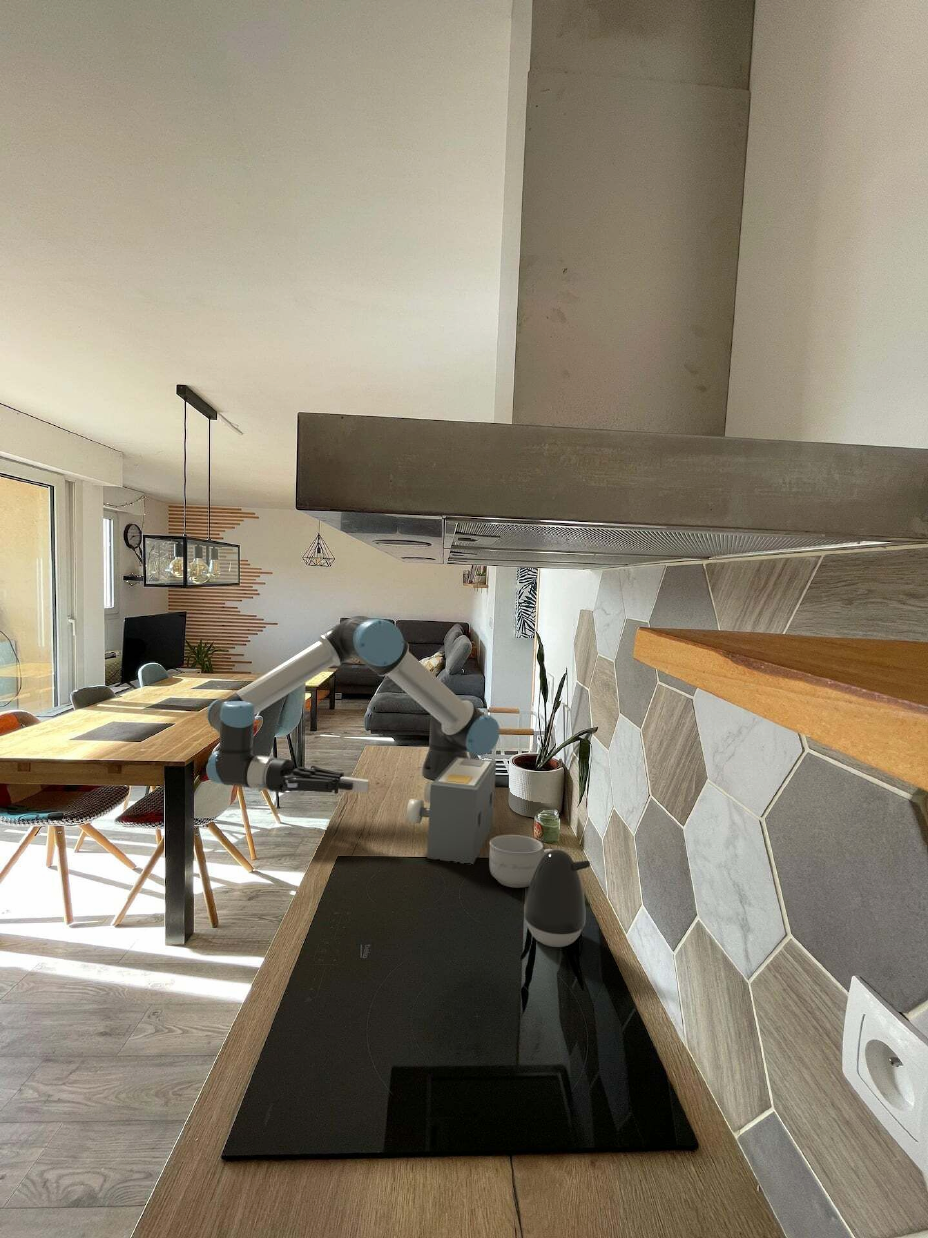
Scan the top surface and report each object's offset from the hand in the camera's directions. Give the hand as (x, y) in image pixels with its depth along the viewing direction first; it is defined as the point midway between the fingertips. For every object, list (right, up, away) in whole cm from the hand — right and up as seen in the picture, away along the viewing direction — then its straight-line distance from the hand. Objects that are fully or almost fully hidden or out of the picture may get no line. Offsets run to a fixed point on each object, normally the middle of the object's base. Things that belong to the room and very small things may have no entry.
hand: (367, 786), depth 147 cm
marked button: (+13, -8, -2) cm, 15 cm away
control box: (+21, -13, +3) cm, 25 cm away
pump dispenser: (+37, -16, -37) cm, 55 cm away
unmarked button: (+16, -7, +11) cm, 21 cm away
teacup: (+33, -15, -17) cm, 40 cm away
